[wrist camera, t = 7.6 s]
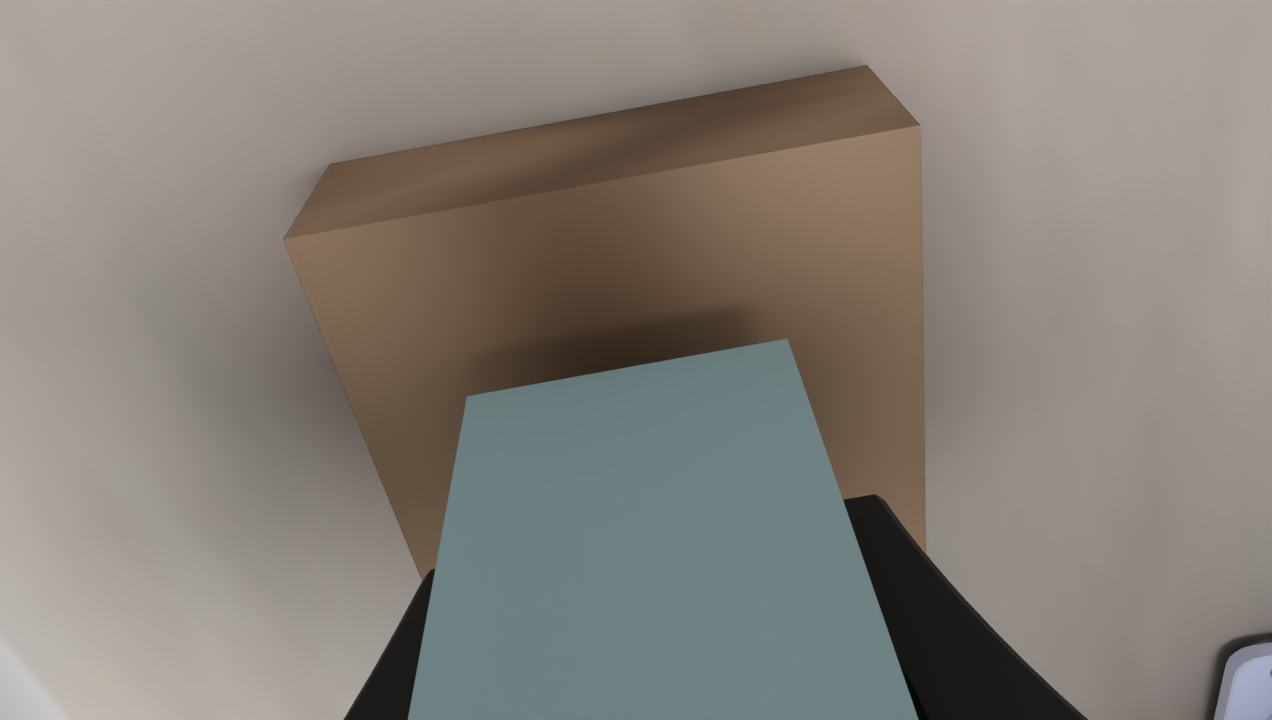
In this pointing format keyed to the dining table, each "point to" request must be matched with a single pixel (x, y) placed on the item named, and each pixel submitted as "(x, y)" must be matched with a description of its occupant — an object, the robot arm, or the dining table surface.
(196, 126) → the dining table surface
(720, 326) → the walnut base block
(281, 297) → the dining table surface
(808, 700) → the teal block
